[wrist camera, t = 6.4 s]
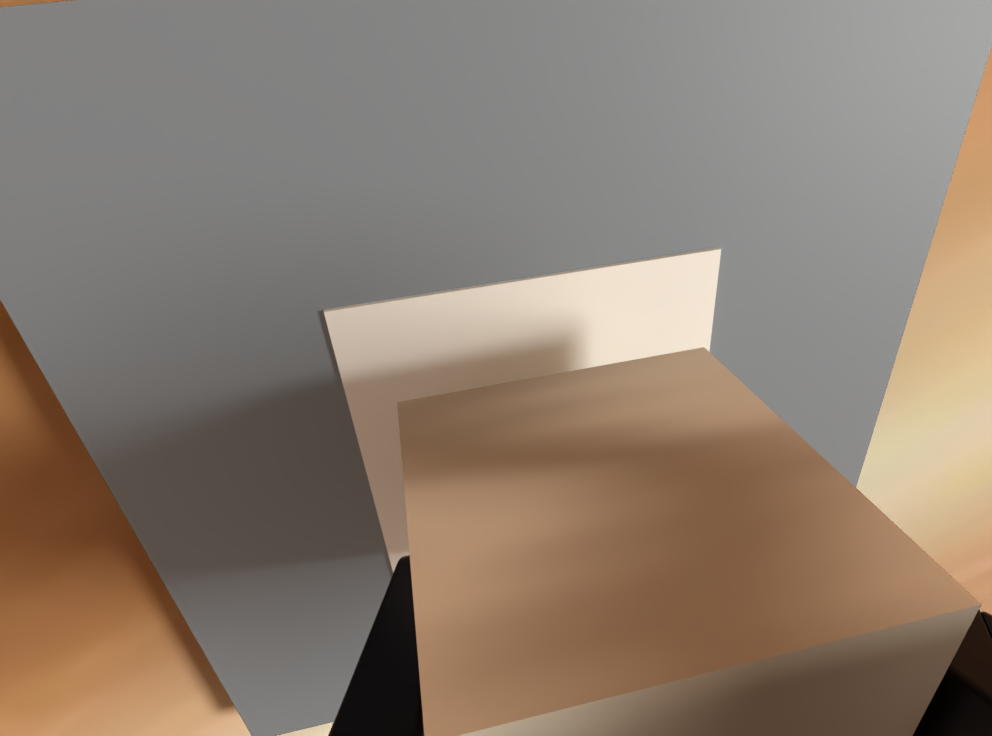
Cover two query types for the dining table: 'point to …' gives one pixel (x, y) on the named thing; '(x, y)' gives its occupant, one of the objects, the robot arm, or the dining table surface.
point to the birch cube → (657, 566)
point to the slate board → (441, 251)
